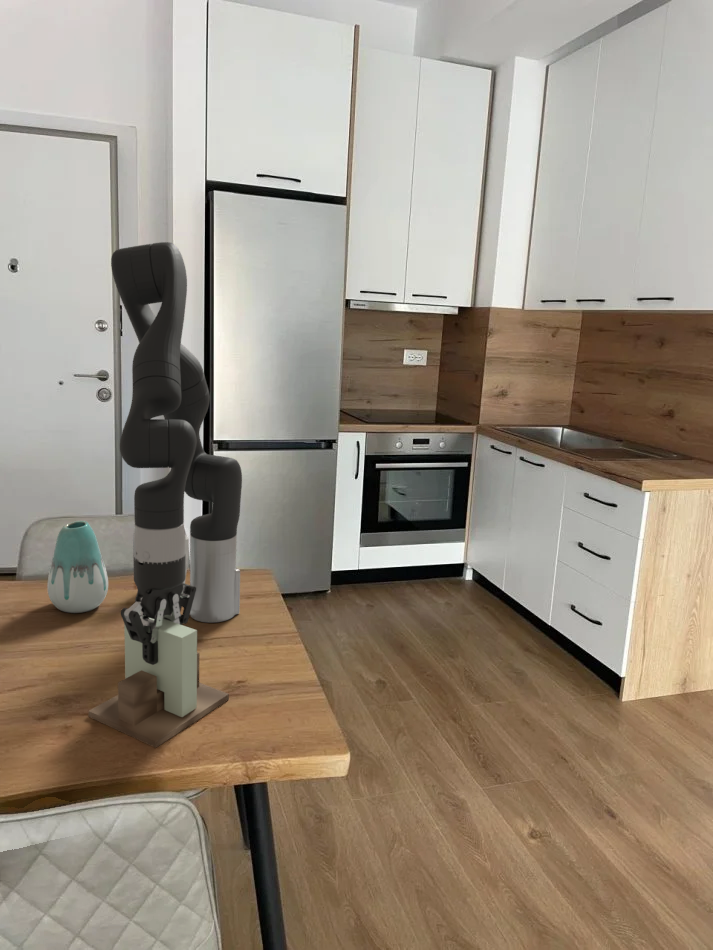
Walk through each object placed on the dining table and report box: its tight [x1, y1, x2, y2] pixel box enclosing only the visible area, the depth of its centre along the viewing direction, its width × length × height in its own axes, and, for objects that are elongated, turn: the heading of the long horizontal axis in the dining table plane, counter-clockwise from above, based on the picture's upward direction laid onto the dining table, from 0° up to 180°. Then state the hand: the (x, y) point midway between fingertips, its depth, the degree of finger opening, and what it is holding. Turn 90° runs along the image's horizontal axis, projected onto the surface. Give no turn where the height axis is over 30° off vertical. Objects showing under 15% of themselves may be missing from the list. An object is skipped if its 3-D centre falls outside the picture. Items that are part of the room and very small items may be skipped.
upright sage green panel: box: [123, 612, 198, 717], centre depth 111 cm, size 3×12×13 cm, turn 60°
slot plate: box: [88, 651, 230, 749], centre depth 112 cm, size 16×14×7 cm
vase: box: [46, 520, 109, 614], centre depth 146 cm, size 12×12×18 cm
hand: (160, 657), depth 110 cm, fingers open, 3 cm apart
